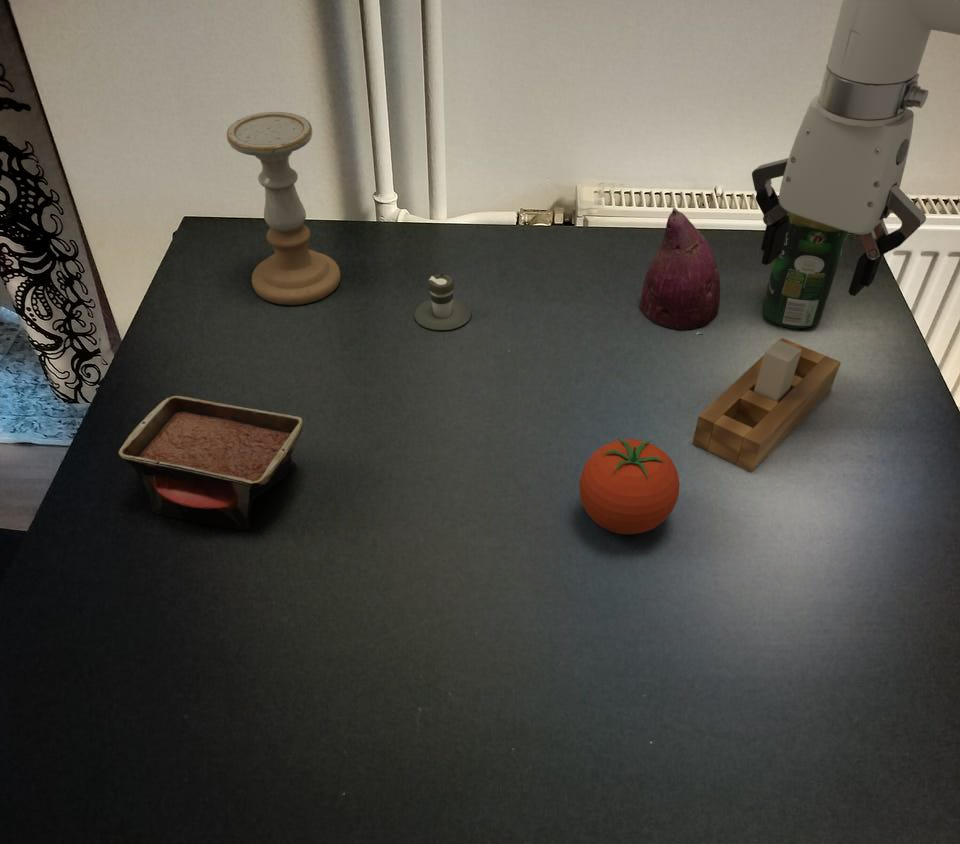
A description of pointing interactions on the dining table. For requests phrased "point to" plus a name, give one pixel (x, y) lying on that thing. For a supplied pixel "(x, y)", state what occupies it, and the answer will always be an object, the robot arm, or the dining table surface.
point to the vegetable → (682, 278)
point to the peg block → (762, 411)
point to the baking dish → (210, 458)
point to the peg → (777, 370)
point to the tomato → (629, 486)
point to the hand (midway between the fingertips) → (813, 273)
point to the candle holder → (283, 211)
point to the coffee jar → (803, 273)
